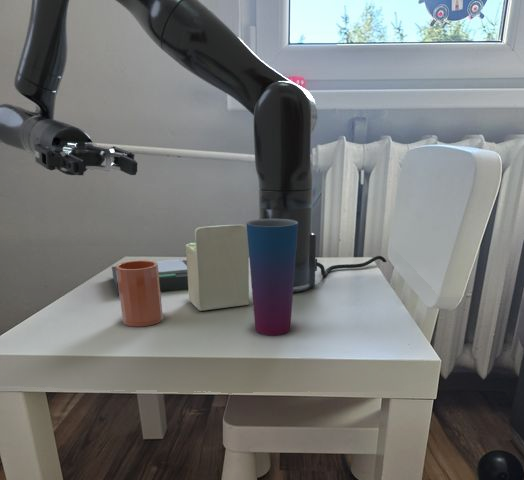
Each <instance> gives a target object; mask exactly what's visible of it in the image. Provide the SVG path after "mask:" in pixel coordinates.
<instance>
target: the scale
mask: <svg viewBox="0 0 524 480" xmlns="http://www.w3.org/2000/svg"><path fill="white" fill-rule="evenodd" d="M152 261H153V262H156V263H157V264H158V273H159V283H160V293H162V292H169V291H180V290H188V273H187V259H185V260H182V259H181V258H174V259H173V258H172V259H162V260H152ZM116 266H117V265H115V266H111V272H112V279H113V282H114V285H115V289H116V293H117V297H120V296H119V288H118V280H117V273H116Z"/></svg>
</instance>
